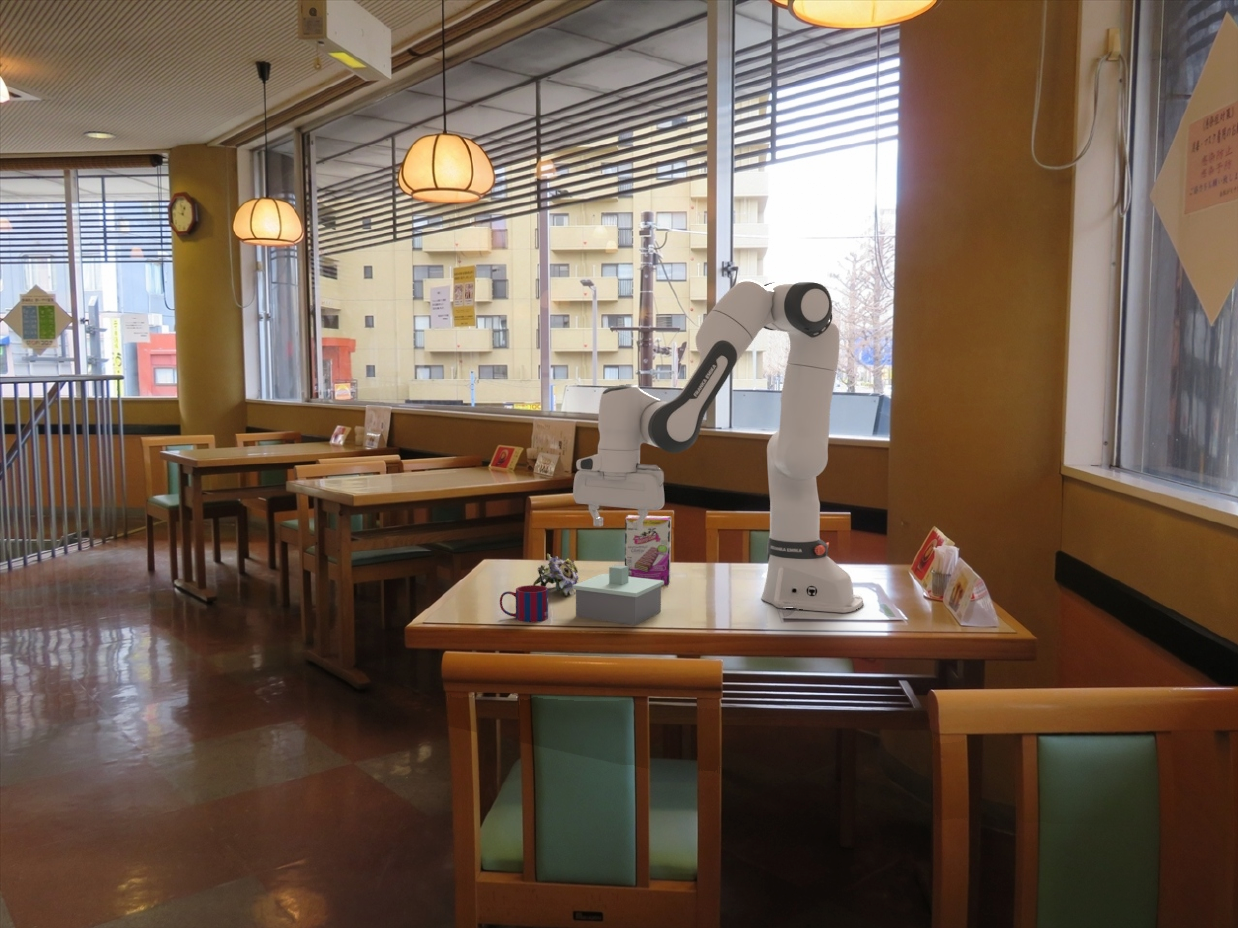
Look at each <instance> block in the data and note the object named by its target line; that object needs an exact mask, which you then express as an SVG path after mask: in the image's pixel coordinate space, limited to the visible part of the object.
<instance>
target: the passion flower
mask: <svg viewBox="0 0 1238 928" xmlns="http://www.w3.org/2000/svg"><path fill="white" fill-rule="evenodd" d="M546 557H547V561H548V564H547V565H548V567H546V565H544V564H541V565H540V567H539V566H538V568H537V573H538V575H539V577H537V579H535V580H534V581H533V584H532V585H538V584H540V585H539V586H545V587H547V584H548V583H550V584H552V585H553V584H555V588H556V590H558V591H560V593H561V595H563V596H565V598H566V597H567V596H574V595H575V591H574V590H575V589H573V585H575V584H577V583H579V582H578V581H579V575H577V574H578V573H579V572H578V570H579V569H578V566H577V565H576V564H575V559H573V558H572V559H571V560H570V558H567V559H565V558H563V559H560V558H559V557H558V556H554V557H551V554H549V553H547V554H546ZM564 559H565V560H564ZM545 567H546V568H545ZM544 580H545V581H544Z"/></svg>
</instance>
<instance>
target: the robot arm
mask: <svg viewBox="0 0 1238 928" xmlns="http://www.w3.org/2000/svg"><path fill="white" fill-rule="evenodd" d="M832 301H833V300H832V297H831V295H830V292H829V290H828V289H827V288H826V286H824V285H823V284H821V283H819V282H817V281H814V280H812V279H786V280H783V281H778V282H770V283H766V284H764V285H763V284H762V283H760V282H758V281H755V280H752V279H743V280H740V281H738V282H737V283H736V284H734V285H733V286H732V287H731V288H730V289H729V290H728V291H727V292H725V293H724V295H723V296H722V297H721V298H720V299H719V300H718V301H717V302H716V304H715V305H714V306H713V308H712V309H711V310H710V311H709V312H708V314H707V315H706V317H705V318H704V320H703V321H702V323H701V325H700V326H699V329H698V330H697V333H696V335H695V347H696V350H697V351H698V354H699V357H700V358H699V363H698V366H697V367H696V369H695V370H694V372H693V373H692V375H691V376H690V378H689V379H688V380H687V383H685V386H684V387H683V388H682V390H681V392H680V393H679V394H678V395H677V396H676V397H675V398H673V399H671V400H670V401H665V400H661V399H659V398H657V397H654V396H652V395H650V394H649V393H647V392H645V391H643V390H642V389H641V388H640V387H639V386H638V385H636V384H633V383H632V384H620V385H614V386H613V385H612V386H610V387H608V388H605V390H604V391H603V392H602V393H601V396H600V398H599V399H600V400H599V407H598V419H597V420H598V422H597V424H598V425H597V428H598V432H599V441H598V444H597V454H592V455H590V456H587V457H583V458H580V459H577V460H576V462H575V463H576V469H577V471H576V473H575V475H574V480H573V487H572V488H573V489H572V497H573V500H574V501H575V503H576V504H582V505H588V511H589V513H590V515H591V517H592V519H593V520H592V521H593V525H592V526H593V527H603V525H604V517H601V516H600V513H599V511H598V510H599V509H600V506H602V507H603V506H604V507H613V508H623V509H624V508H625V509H633V510H634V509H635V510H637V515H639V518H638V520H637V521H634V522H633V530H638V531H640V530H642V529H643V521H644V520H645V518H646V516H649V511H658V510H661V509H662V508H663V507H664V506H665V491H664V490H665V489H664V481H665V474H664V473H665V472H664V471H663V469H662V468H660V467H659V466H658V465H657V464H647V463H646V464H645V463H640V462H641V445H642V444H648V445H650V446H653V447H657V448H659V449H661V450H663V451H665V452H668V453H672V454H673V453H674V454H675V453H676V454H678V453H681V452H684V451H686V450H688V449H690V447H692V446H693V445H694V444H695V443H696V441H697V439H698V437H699V435H700V432H701V428H702V425H703V420H704V417H705V414H706V413H707V410H709V407H710V406H711V404H712V403H713V401H714V400H715V398H716V396H717V395H718V393H719V392H720V390H721V389H722V387H723V386H724V384H725V382H726V381H727V379H728V378H729V376H730V374H731V372H732V370H733V369H734V367H735V365H736V364H737V363H738V361H739V360H740V358H741V357H742V356H743V354H745V352H746V350H747V349H748V348H749V347H750V345H752V343H753V341H754V340H755V339H756V337H757V335H758V334H759V333H760V331H761V330H762V329H766V330H768V331H778V332H784V333H785V332H786V333H787V334H788V337H789V345H790V346H789V348H790V349H789V353H788V356H787V362H786V367H785V373H784V378H783V384H782V389H781V397H780V419H779V430H777V431H776V432H774V433H773V434H772V435H771V437H770V438H769V440H768V442H767V447H766V457H767V478H768V480H767V481H768V491H769V492H768V493H769V501H770V502H769V503H770V505H769V508H770V509H769V536H768V537H767V544H766V545H767V546H766V556H767V561H768V563H767V564H768V565H767V571H766V578H765V584H764V588H763V591H762V595H761V599H762V601H765V602H766V603H769V604H772V605H773V606H774V607H775V608H778V609H784V608H783V607H793V608H797V609H796V610H799V609H803V610H802V611H814V612H815V611H816V612H827V613H828V612H830V613H850V612H854V611H857V610H859V609H860V608H861V607H862V606H863V605H864V598H863V597H862V596H861V595H858V594H854V588H853V581H852V578H851V576H850V574H849V573H848V572H847V571H846V570H844V569H843V568H842V567H841V566H840V565H838V563H836V561H834V560H833V559H832V558H830V557H829V556H828V554H829V553H828V551H829V549H828V548H829V547H830V546H829V545H830V542H829V541H828V542H825V541H824V540H823V539H821V538H820V520H821V518H820V517H821V514H820V513H821V512H820V510H821V503H820V500H819V493H818V486H817V485H818V484H817V476H819V475H821V473H823V472H824V470H825V469H826V467H827V464H828V461H829V460H828V459H829V453H828V451H829V450H828V448H829V439H830V437H829V435H830V420H831V419H830V415H831V414H830V413H831V407H832V406H831V405H832V404H831V403H832V398H833V393H834V388H835V387H834V386H835V384H836V383H835V381H836V376H837V371H838V365H839V356H840V331H839V328H838V326H837V325H836V323H834V322H832V320H833V314H832V312H833V302H832ZM858 608H859V609H858ZM856 609H857V610H856Z"/></svg>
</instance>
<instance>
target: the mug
mask: <svg viewBox="0 0 1238 928" xmlns="http://www.w3.org/2000/svg"><path fill="white" fill-rule="evenodd" d="M508 594H509V595H512V596H513V597H515V613H514V612H509V611H507V610H506V609H505V608H504V606H503V598H504V596H505V595H508ZM499 597H500V598H499V606H500V610H501V611H502V612H503V613H504V614H506V616H507V615H508V616H510V617H514V618H515V619H516V620H517V621H518V622H523V623H539V622H544V621H546V620H548V619H549V588H548V587H547V586H540V585H538V584H536V585H533V584H529V585H521V586H517V587H516V588H515V591H510V590H509V591H504V592H503V593H502V594H501V595H500V596H499Z"/></svg>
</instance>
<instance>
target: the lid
mask: <svg viewBox="0 0 1238 928" xmlns="http://www.w3.org/2000/svg"><path fill="white" fill-rule="evenodd" d="M608 571H609V573H601V574H598V575H595V576H593V577H590V578H587V579H585V580H583V581H580V582H578V583H577V584H575V585H573V590H575V591H576V590H584V591H592V592H599V593H607V594H615V595H623V596H631V597H638V596H640V595H642V594H644V593H647V592H649V591H651V590H653V589H655V588H657V587H659V586H661V587H662V586H664V585H665V584H664V581H662V580H654V579H645V578H637V577H628V566H625V565H623V564H621V565H620V564H614V565H612V566H609V567H608Z"/></svg>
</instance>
